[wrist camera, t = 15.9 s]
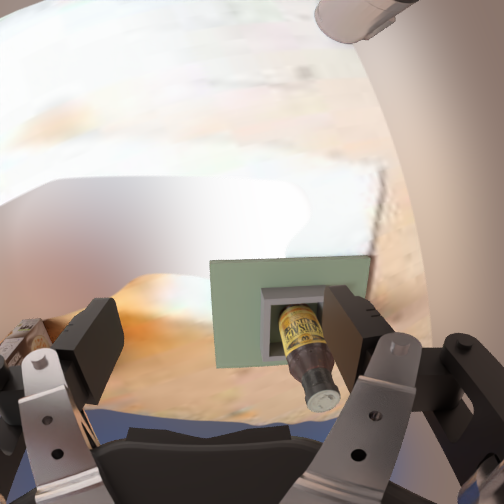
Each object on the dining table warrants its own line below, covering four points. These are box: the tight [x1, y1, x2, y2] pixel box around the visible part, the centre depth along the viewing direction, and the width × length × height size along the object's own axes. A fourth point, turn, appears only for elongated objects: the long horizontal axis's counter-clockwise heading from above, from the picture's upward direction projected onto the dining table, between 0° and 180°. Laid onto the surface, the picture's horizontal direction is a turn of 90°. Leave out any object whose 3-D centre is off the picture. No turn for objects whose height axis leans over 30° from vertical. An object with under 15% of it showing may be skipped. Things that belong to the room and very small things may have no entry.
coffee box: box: [0, 318, 52, 367], centre depth 41 cm, size 9×6×16 cm
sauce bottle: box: [278, 303, 340, 413], centre depth 40 cm, size 7×6×20 cm
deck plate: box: [210, 255, 371, 368], centre depth 48 cm, size 26×20×6 cm
